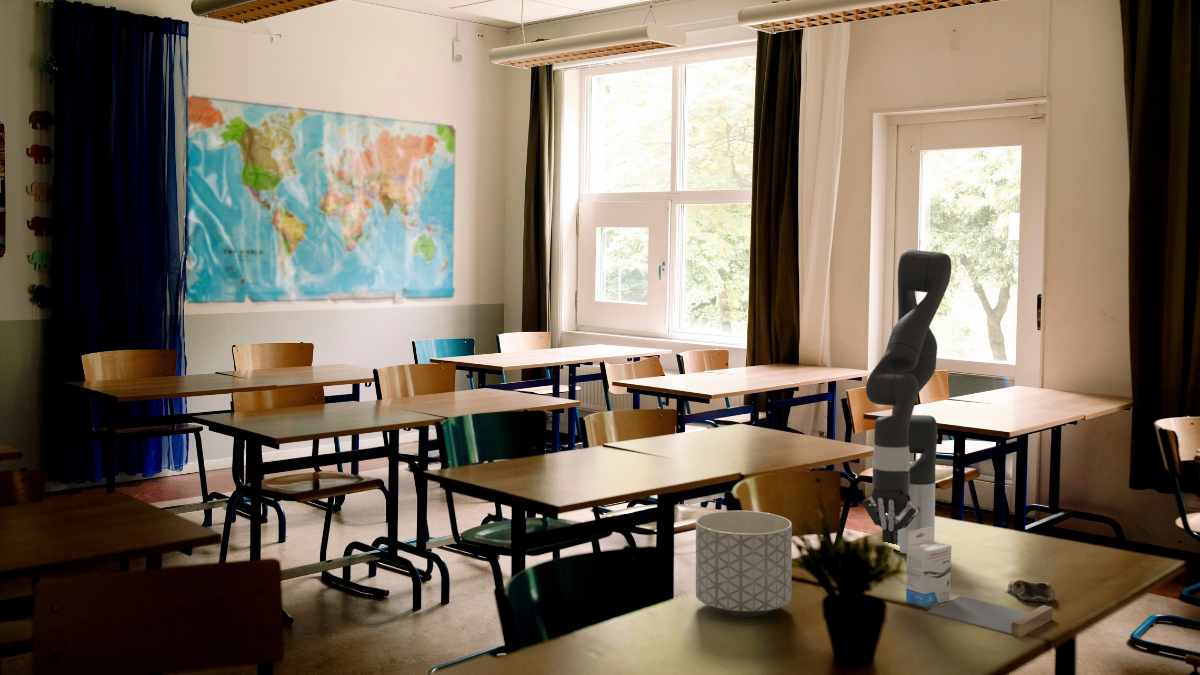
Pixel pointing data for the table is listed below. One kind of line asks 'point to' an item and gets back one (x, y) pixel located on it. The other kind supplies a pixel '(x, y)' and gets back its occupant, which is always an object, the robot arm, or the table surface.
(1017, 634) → the stop rail
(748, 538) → the planter
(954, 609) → the mat
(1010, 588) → the rock
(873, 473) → the robot arm
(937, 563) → the ink box
